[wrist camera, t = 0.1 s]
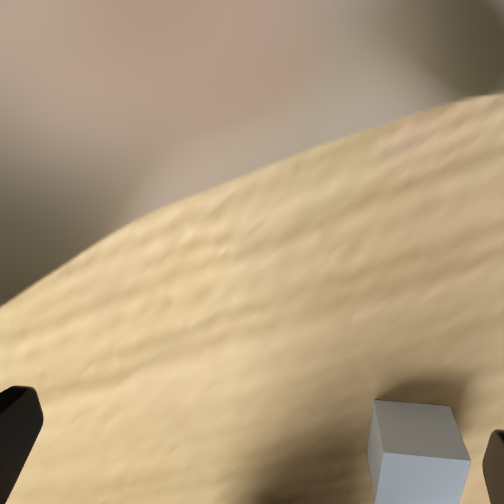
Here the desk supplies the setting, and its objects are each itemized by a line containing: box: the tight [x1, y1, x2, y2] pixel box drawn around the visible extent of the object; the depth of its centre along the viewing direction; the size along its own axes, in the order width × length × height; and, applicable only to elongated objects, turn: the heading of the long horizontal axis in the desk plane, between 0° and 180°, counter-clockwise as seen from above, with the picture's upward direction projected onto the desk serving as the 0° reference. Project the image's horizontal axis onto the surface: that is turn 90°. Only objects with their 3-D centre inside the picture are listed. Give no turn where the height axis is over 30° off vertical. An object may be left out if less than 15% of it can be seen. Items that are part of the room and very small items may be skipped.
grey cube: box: [367, 400, 471, 504], centre depth 25 cm, size 4×4×4 cm
